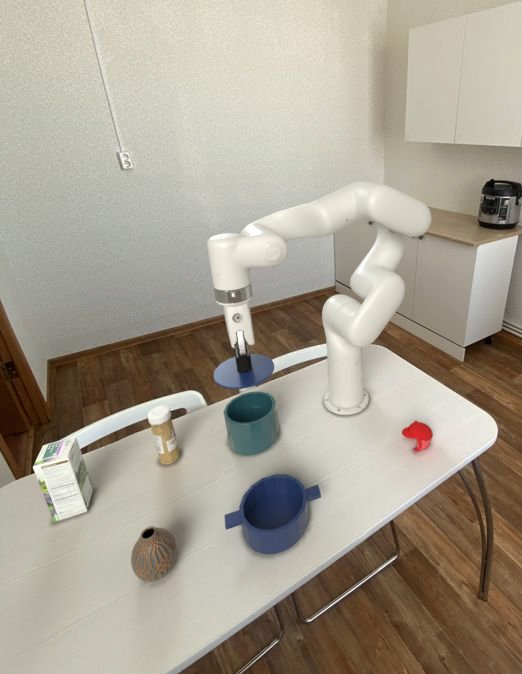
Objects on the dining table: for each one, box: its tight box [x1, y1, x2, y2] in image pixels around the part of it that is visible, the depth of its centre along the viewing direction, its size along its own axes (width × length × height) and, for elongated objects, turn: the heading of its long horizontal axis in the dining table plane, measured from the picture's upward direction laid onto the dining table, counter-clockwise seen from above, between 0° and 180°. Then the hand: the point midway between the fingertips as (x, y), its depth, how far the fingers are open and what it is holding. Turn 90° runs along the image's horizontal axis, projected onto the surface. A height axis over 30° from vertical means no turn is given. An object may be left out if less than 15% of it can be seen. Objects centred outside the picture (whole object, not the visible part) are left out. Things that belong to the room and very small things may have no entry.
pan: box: [224, 473, 322, 555], centre depth 73 cm, size 12×18×5 cm
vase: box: [130, 525, 178, 583], centre depth 65 cm, size 7×7×9 cm
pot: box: [223, 391, 280, 456], centre depth 94 cm, size 12×12×9 cm
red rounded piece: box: [401, 420, 434, 453], centre depth 91 cm, size 8×6×6 cm
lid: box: [213, 347, 275, 390], centre depth 87 cm, size 13×13×7 cm
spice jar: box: [147, 404, 181, 466], centre depth 87 cm, size 5×5×14 cm
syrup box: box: [32, 437, 94, 523], centre depth 76 cm, size 6×6×14 cm
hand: (244, 366), depth 87 cm, fingers closed on lid, 2 cm apart
